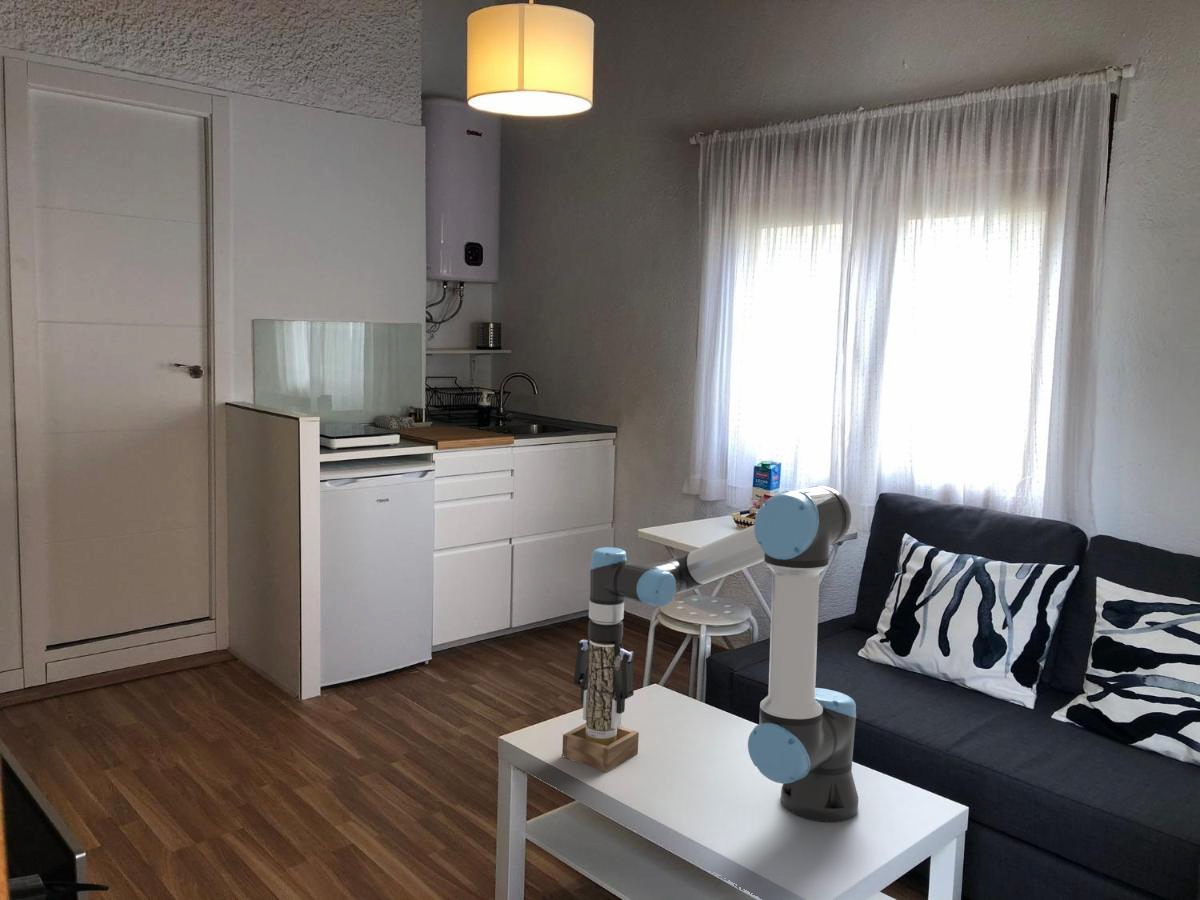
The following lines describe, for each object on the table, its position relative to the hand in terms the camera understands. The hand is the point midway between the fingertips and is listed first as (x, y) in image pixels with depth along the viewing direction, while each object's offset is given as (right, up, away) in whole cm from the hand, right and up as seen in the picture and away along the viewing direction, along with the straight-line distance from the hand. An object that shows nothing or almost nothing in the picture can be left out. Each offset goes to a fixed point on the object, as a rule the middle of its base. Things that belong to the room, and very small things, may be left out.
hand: (601, 722), depth 220 cm
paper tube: (0, -7, +1) cm, 7 cm away
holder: (0, -8, +1) cm, 8 cm away
